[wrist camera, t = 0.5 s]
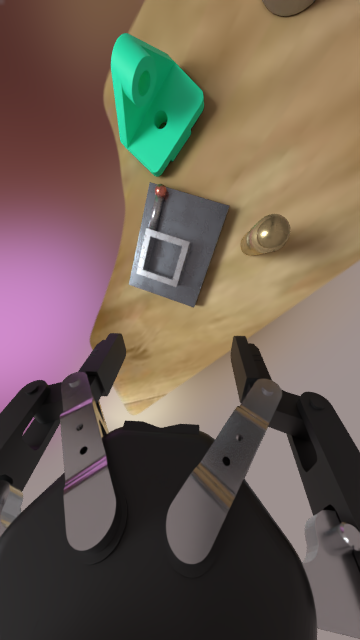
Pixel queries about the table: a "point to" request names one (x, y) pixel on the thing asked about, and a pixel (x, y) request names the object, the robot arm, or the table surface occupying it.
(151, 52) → the camera mount
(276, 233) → the brass cylinder peg
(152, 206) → the dock
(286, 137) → the table surface
